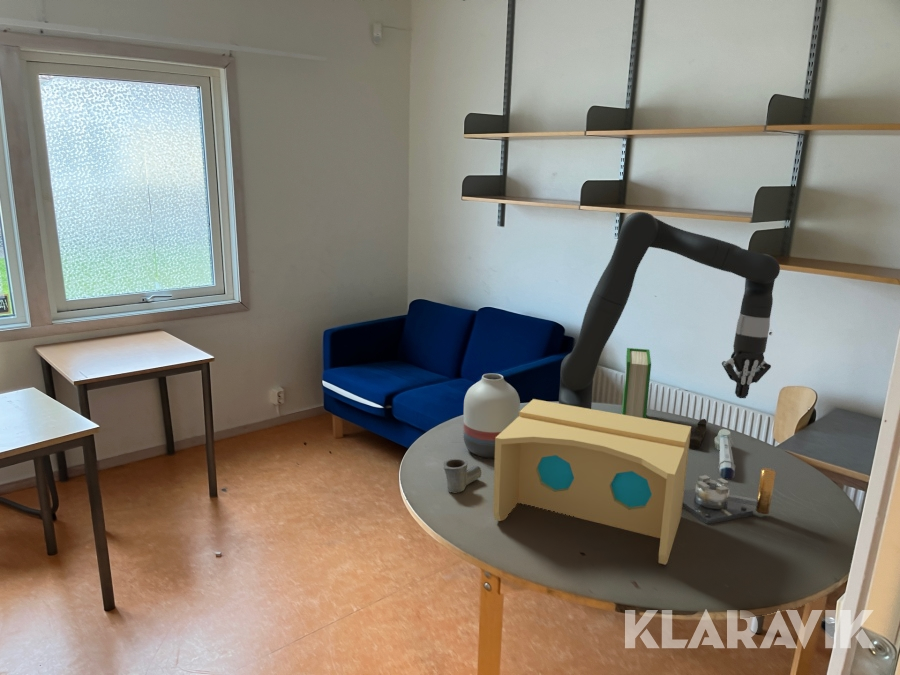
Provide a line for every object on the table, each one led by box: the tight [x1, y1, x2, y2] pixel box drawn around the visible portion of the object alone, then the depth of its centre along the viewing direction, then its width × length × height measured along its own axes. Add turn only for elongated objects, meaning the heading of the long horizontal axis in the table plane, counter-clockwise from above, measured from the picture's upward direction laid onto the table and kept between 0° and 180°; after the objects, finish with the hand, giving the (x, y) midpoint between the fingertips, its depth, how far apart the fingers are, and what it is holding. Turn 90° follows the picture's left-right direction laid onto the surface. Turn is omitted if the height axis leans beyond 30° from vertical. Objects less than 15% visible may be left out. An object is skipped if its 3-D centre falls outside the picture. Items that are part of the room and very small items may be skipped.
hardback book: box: [621, 347, 652, 419], centre depth 218 cm, size 18×7×24 cm, turn 165°
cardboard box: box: [492, 398, 692, 566], centre depth 156 cm, size 40×26×24 cm, turn 63°
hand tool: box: [689, 418, 708, 451], centre depth 208 cm, size 19×4×5 cm, turn 147°
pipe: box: [442, 458, 483, 493], centre depth 174 cm, size 6×13×8 cm, turn 137°
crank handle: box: [694, 467, 777, 515], centre depth 163 cm, size 18×8×11 cm, turn 66°
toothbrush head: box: [714, 428, 737, 480], centre depth 192 cm, size 5×7×25 cm
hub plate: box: [682, 488, 754, 525], centre depth 166 cm, size 14×14×2 cm
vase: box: [462, 372, 521, 459], centre depth 195 cm, size 17×17×24 cm
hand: (740, 397), depth 169 cm, fingers closed
